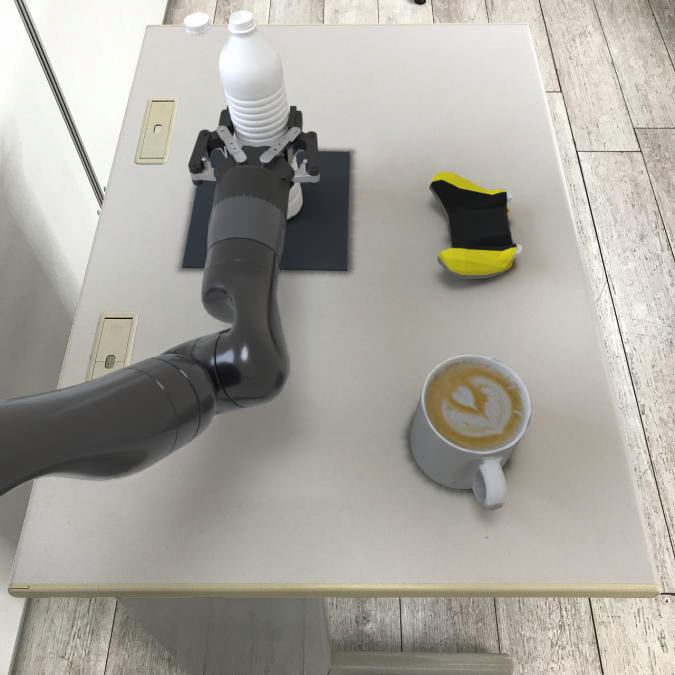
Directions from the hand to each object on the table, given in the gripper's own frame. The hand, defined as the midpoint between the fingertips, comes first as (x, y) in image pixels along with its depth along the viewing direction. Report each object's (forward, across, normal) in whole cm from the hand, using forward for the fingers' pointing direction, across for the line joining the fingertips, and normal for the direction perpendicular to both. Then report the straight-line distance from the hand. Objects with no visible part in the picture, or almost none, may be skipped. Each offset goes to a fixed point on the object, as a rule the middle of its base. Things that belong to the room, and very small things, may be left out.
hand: (263, 111), depth 72 cm
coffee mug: (-35, +22, -14) cm, 44 cm away
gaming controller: (-7, +25, -14) cm, 29 cm away
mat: (-2, 0, -13) cm, 13 cm away
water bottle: (-2, 0, -13) cm, 13 cm away
